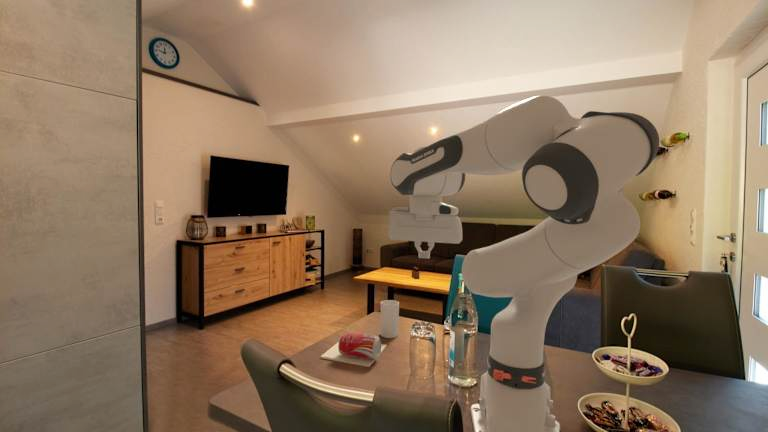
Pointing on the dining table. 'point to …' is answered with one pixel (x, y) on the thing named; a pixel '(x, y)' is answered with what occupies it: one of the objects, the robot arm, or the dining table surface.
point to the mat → (337, 356)
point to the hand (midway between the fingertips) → (424, 258)
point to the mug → (389, 318)
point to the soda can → (360, 345)
